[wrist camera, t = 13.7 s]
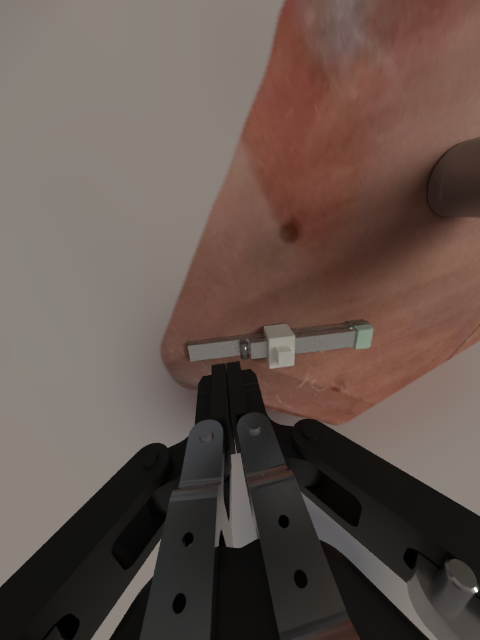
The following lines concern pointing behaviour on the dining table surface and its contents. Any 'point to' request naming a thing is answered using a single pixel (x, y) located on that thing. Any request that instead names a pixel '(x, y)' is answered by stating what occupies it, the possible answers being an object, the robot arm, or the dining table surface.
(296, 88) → the dining table surface
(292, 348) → the lock slider
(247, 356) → the base
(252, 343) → the bar
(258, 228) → the dining table surface
